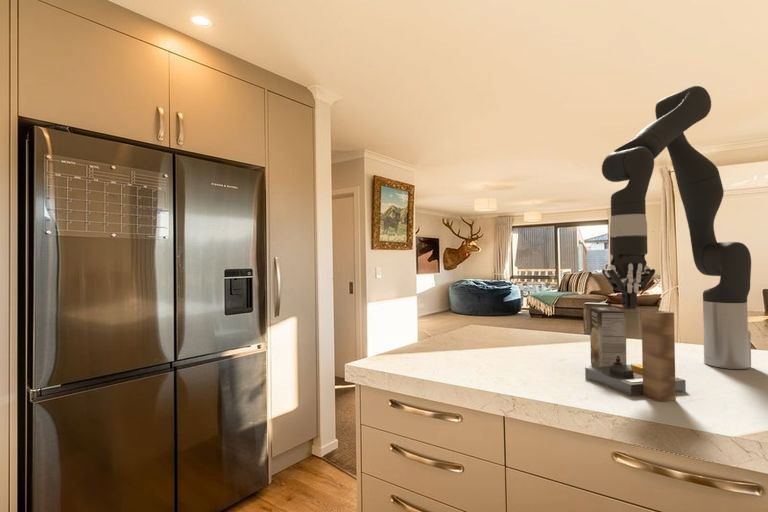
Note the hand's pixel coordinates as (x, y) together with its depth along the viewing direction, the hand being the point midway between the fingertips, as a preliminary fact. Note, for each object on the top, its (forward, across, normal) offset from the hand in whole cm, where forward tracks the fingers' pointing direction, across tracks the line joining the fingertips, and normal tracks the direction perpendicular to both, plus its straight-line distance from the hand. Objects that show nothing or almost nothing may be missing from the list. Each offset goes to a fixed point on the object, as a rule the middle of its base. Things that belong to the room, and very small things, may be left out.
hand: (629, 308), depth 95 cm
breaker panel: (+18, 0, +1) cm, 18 cm away
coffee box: (+18, -4, -12) cm, 22 cm away
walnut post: (+17, +2, +10) cm, 20 cm away
